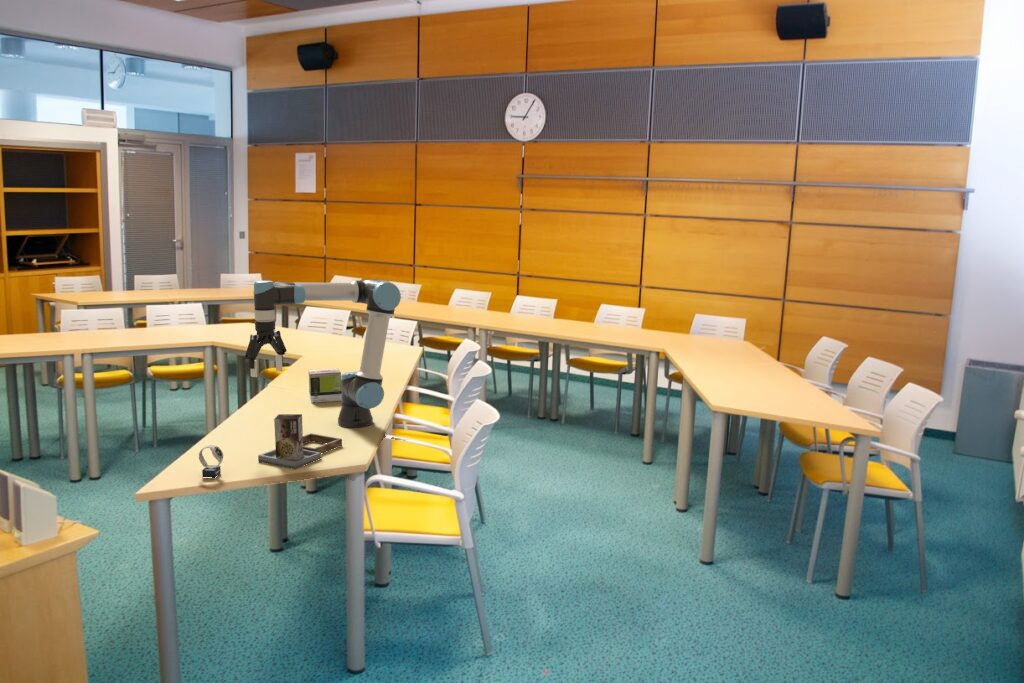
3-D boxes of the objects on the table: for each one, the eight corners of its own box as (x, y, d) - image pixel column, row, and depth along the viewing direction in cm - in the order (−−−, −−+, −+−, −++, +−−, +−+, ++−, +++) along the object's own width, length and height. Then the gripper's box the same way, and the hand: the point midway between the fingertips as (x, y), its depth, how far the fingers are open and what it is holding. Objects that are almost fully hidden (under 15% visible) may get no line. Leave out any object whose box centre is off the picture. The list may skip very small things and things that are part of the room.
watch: (220, 479, 275) (219, 448, 274) (197, 478, 275) (195, 448, 274) (226, 473, 281) (224, 443, 279) (203, 473, 281) (202, 443, 279)
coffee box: (304, 455, 300) (302, 413, 297) (299, 460, 294) (298, 418, 291) (279, 455, 300) (278, 413, 297) (275, 460, 293) (273, 418, 291)
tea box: (339, 396, 398) (339, 368, 396) (342, 401, 389) (341, 372, 387) (309, 398, 394) (308, 369, 391) (310, 403, 384) (309, 373, 382)
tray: (285, 451, 307) (284, 445, 307) (321, 459, 299) (321, 452, 299) (258, 461, 295) (258, 455, 294) (295, 469, 287) (295, 462, 286)
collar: (310, 440, 323) (310, 433, 322) (341, 446, 316) (341, 438, 315) (283, 450, 309) (282, 443, 308) (314, 456, 302) (314, 449, 301)
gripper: (280, 316, 322) (282, 367, 325) (233, 323, 300) (235, 378, 303) (294, 317, 318) (296, 369, 322) (248, 325, 297) (250, 380, 300)
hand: (266, 373), depth 313 cm, fingers open, 13 cm apart
